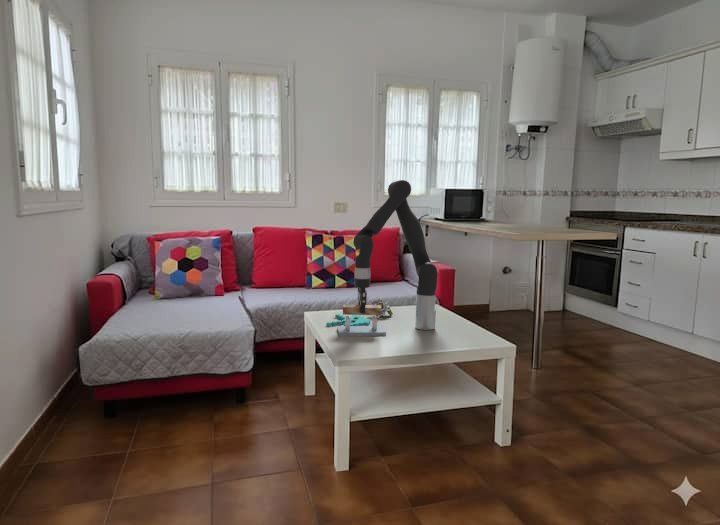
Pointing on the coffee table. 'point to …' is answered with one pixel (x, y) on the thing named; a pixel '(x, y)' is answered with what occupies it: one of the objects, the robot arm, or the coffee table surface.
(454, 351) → the coffee table surface
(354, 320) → the alien figure
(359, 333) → the peg stand
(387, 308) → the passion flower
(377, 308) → the shelf board
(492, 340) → the coffee table surface
